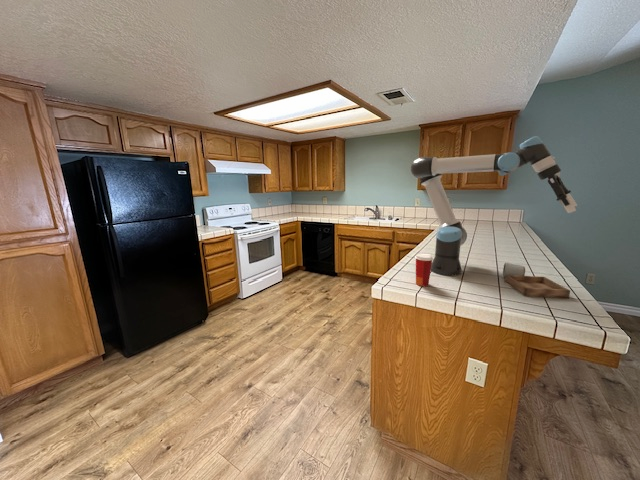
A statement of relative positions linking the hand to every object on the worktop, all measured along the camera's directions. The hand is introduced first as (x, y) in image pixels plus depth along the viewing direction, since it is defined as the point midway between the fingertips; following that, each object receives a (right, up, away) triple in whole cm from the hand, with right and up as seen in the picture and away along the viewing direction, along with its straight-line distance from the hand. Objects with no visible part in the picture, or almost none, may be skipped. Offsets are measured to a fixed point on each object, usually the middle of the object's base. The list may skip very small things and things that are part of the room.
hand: (573, 209), depth 113 cm
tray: (-18, -35, 0) cm, 40 cm away
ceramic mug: (-17, -33, +14) cm, 39 cm away
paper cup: (-64, -35, +8) cm, 73 cm away
